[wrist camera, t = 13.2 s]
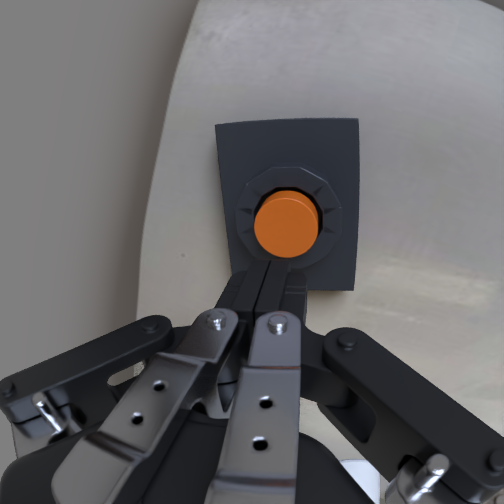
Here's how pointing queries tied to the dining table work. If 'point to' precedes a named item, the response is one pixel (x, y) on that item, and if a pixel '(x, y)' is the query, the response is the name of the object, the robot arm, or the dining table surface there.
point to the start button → (286, 224)
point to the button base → (294, 179)
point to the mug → (364, 476)
